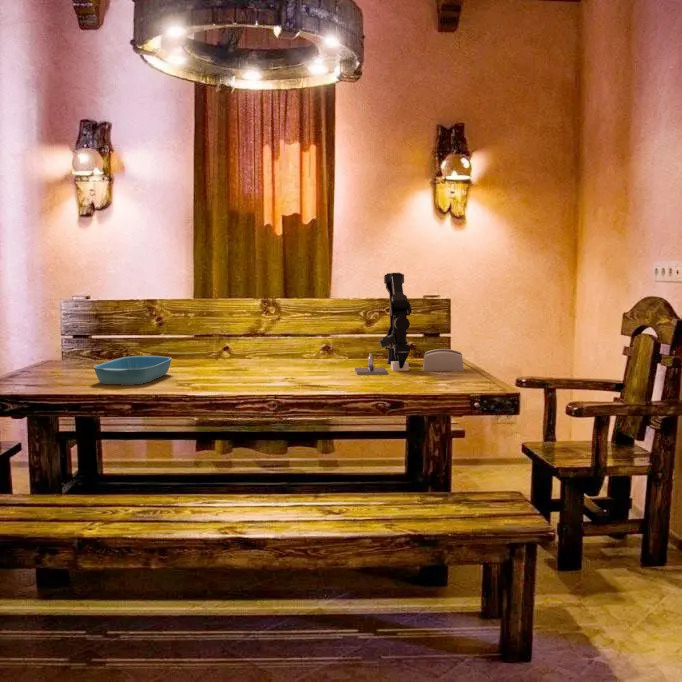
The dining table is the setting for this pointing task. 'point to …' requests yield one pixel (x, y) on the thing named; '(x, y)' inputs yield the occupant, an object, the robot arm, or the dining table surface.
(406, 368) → the collar
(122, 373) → the casserole dish
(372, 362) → the grey base with post
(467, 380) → the dining table surface
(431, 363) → the napkin holder
